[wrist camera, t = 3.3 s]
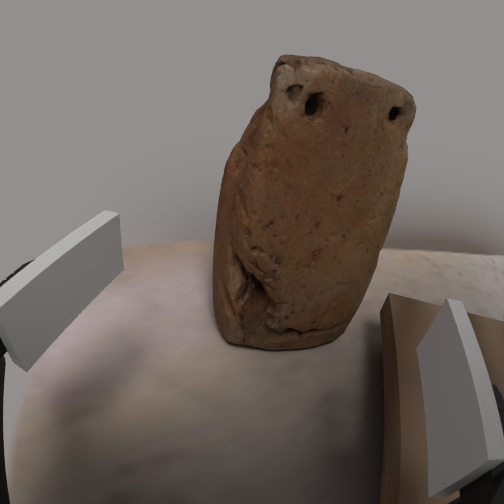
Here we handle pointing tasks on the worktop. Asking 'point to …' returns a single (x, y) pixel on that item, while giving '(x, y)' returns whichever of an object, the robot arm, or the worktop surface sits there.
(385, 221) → the block
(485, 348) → the slab
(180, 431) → the worktop surface
